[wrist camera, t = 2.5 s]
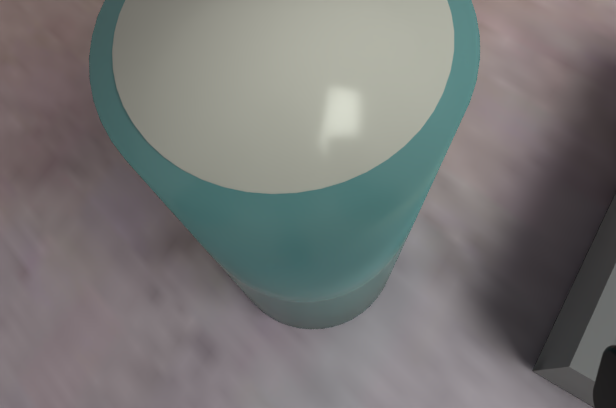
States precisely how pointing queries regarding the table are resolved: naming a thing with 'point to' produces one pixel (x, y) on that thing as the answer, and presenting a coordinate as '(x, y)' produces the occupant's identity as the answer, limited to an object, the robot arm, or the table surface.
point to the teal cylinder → (289, 131)
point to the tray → (585, 319)
